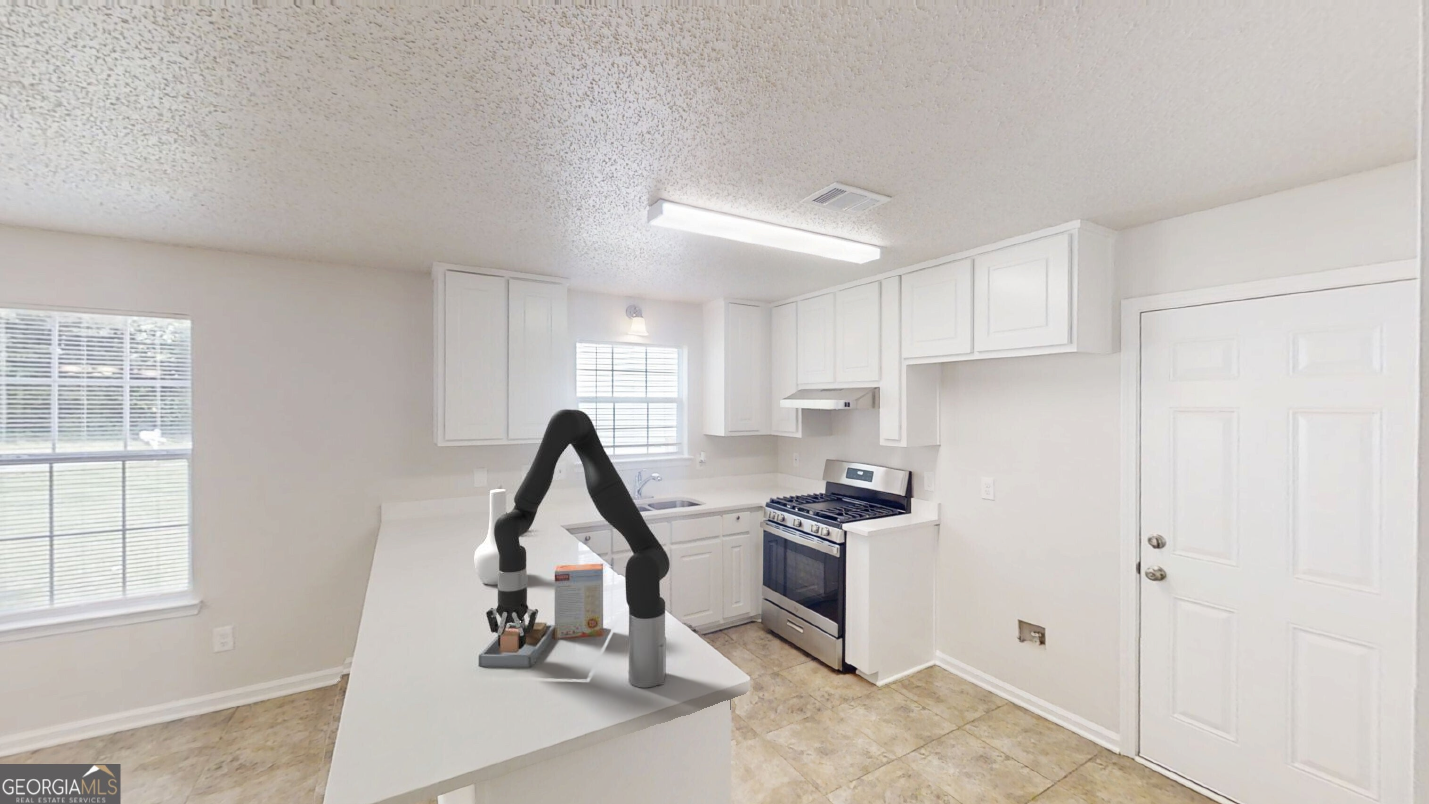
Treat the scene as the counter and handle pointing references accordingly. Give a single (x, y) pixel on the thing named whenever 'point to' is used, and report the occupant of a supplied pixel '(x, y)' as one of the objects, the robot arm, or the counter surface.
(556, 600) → the cracker box
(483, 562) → the vase
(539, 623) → the walnut cube
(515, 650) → the terracotta cube
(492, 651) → the slate tray
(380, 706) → the counter surface
